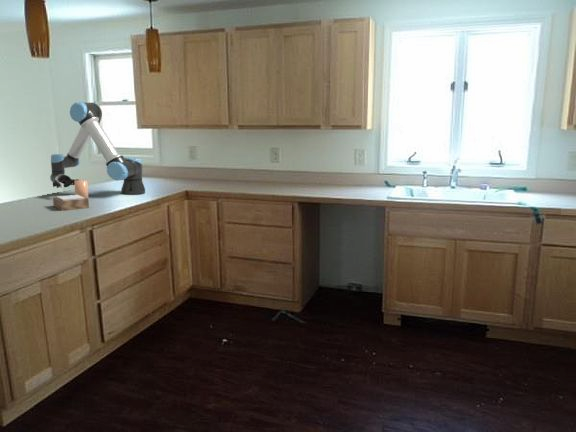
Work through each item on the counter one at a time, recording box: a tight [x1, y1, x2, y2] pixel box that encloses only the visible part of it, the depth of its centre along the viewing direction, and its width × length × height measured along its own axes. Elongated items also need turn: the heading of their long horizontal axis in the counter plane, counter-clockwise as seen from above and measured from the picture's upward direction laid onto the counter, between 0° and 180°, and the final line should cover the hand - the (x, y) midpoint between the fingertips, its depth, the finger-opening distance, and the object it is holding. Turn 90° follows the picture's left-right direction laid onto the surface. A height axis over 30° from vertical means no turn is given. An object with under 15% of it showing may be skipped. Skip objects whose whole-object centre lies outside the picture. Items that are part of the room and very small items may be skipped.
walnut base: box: [52, 194, 90, 212], centre depth 252 cm, size 14×14×6 cm
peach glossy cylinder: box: [74, 179, 90, 201], centre depth 270 cm, size 7×7×12 cm
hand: (75, 185), depth 276 cm, fingers open, 13 cm apart
